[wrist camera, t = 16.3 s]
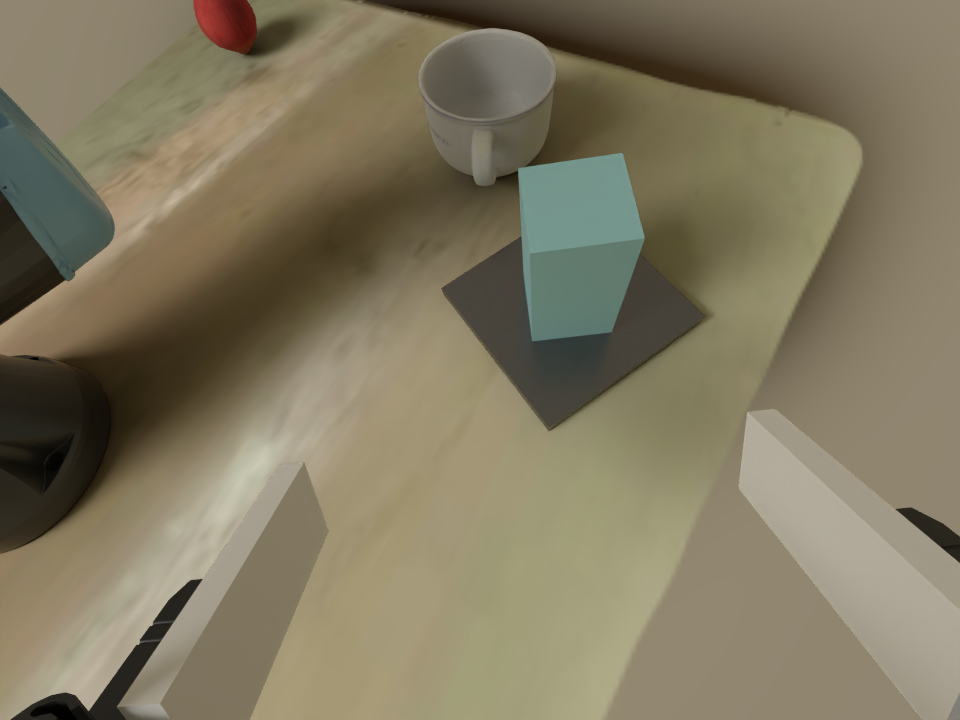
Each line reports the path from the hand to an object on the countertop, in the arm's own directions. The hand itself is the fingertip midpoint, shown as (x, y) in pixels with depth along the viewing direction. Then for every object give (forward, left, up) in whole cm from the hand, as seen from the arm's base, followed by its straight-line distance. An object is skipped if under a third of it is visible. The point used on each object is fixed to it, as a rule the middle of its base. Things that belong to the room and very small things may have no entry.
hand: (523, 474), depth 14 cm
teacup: (-27, +15, -18) cm, 35 cm away
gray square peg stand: (-11, +11, -18) cm, 23 cm away
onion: (-60, +3, -18) cm, 62 cm away
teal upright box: (-11, +11, -17) cm, 23 cm away
